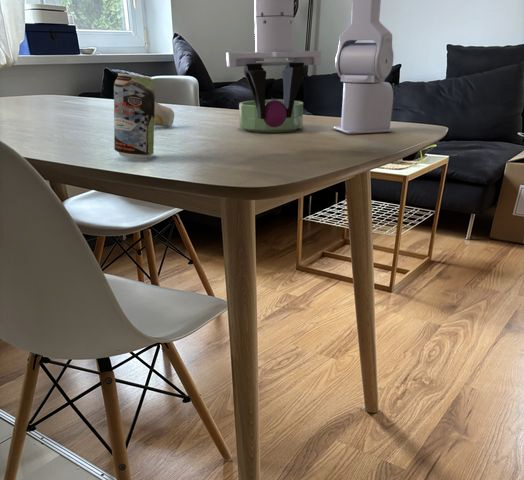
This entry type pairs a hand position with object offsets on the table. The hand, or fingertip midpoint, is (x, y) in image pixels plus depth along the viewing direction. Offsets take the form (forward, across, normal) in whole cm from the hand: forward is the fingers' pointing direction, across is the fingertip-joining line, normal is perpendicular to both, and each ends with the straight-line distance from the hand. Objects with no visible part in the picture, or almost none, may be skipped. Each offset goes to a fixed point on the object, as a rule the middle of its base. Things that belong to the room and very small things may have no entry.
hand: (274, 117), depth 82 cm
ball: (-1, 0, 0) cm, 1 cm away
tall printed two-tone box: (+5, -22, +2) cm, 23 cm away
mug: (+6, -17, +37) cm, 41 cm away
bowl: (+5, +7, +26) cm, 27 cm away
